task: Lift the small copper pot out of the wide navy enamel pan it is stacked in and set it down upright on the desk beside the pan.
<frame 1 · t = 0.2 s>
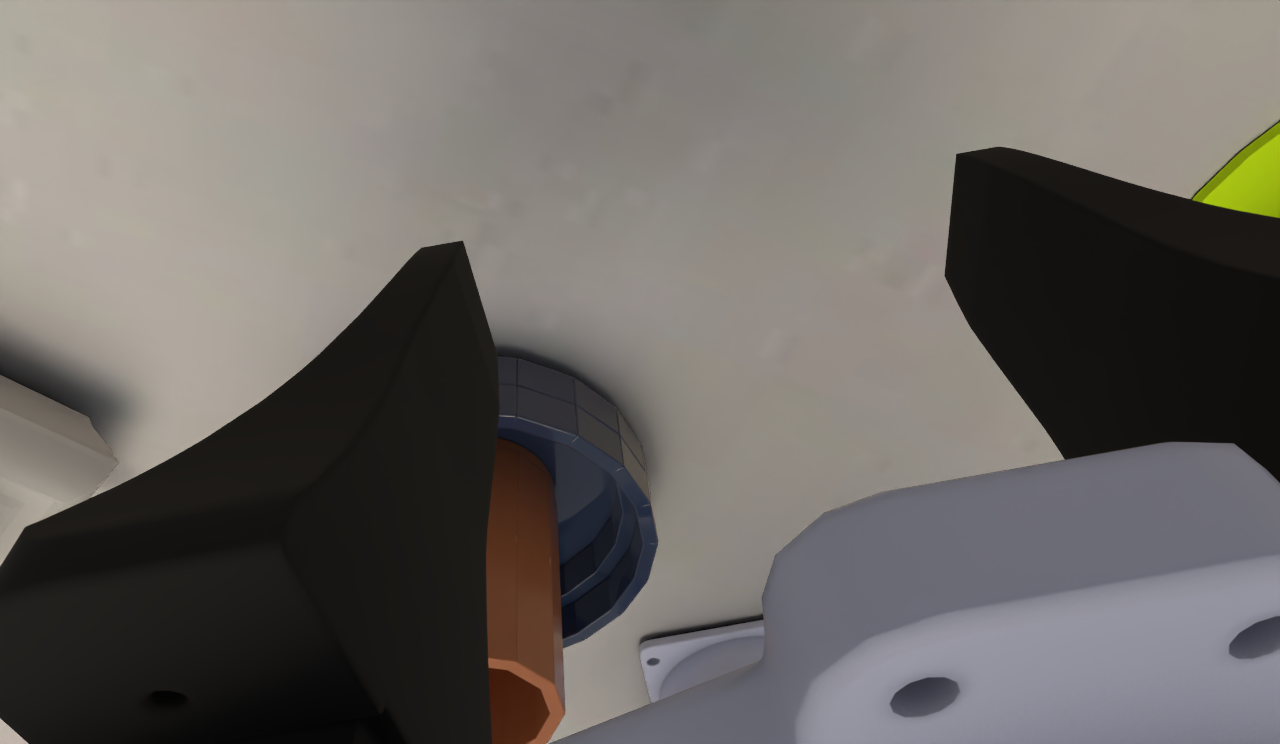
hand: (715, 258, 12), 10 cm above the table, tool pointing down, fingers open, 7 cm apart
copper pot: (475, 493, 28), resting on pan
pan: (476, 482, 28), on the table
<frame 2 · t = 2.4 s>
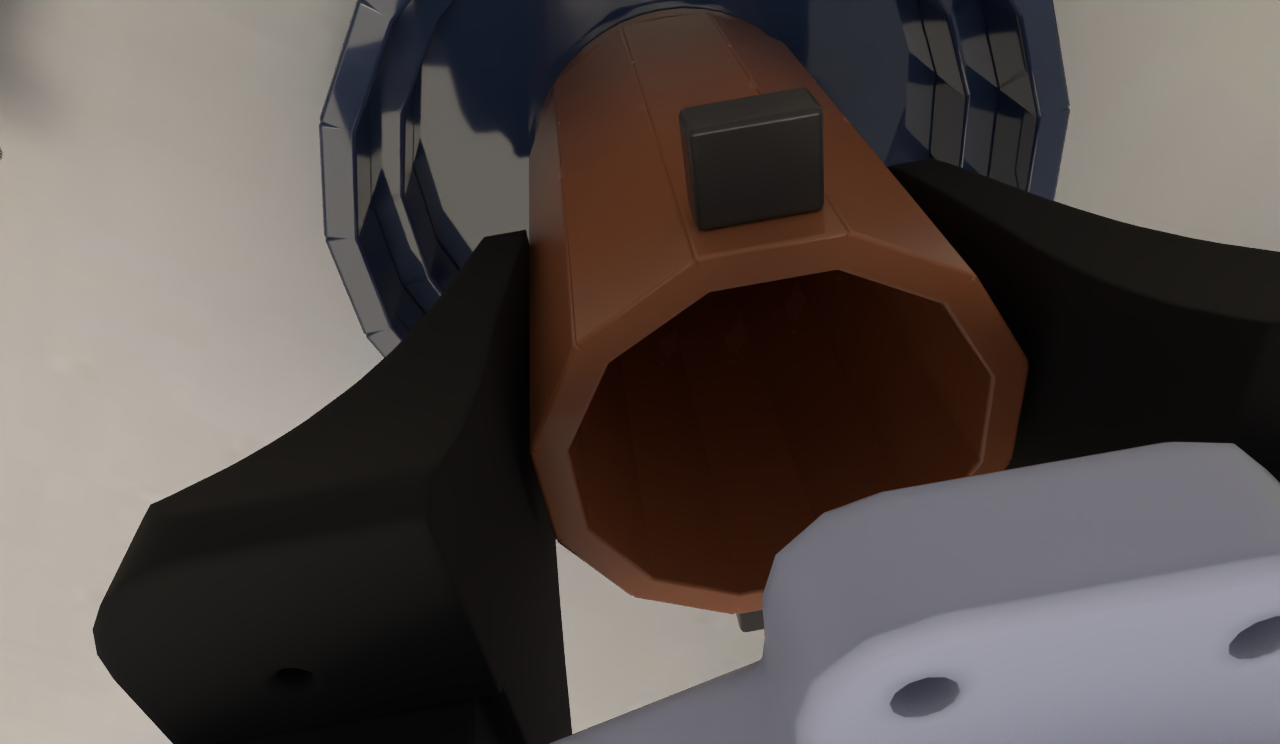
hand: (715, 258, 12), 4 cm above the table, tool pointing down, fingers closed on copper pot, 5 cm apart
copper pot: (677, 158, 15), point 1 cm above the table, touching gripper, pan
pan: (674, 147, 16), on the table
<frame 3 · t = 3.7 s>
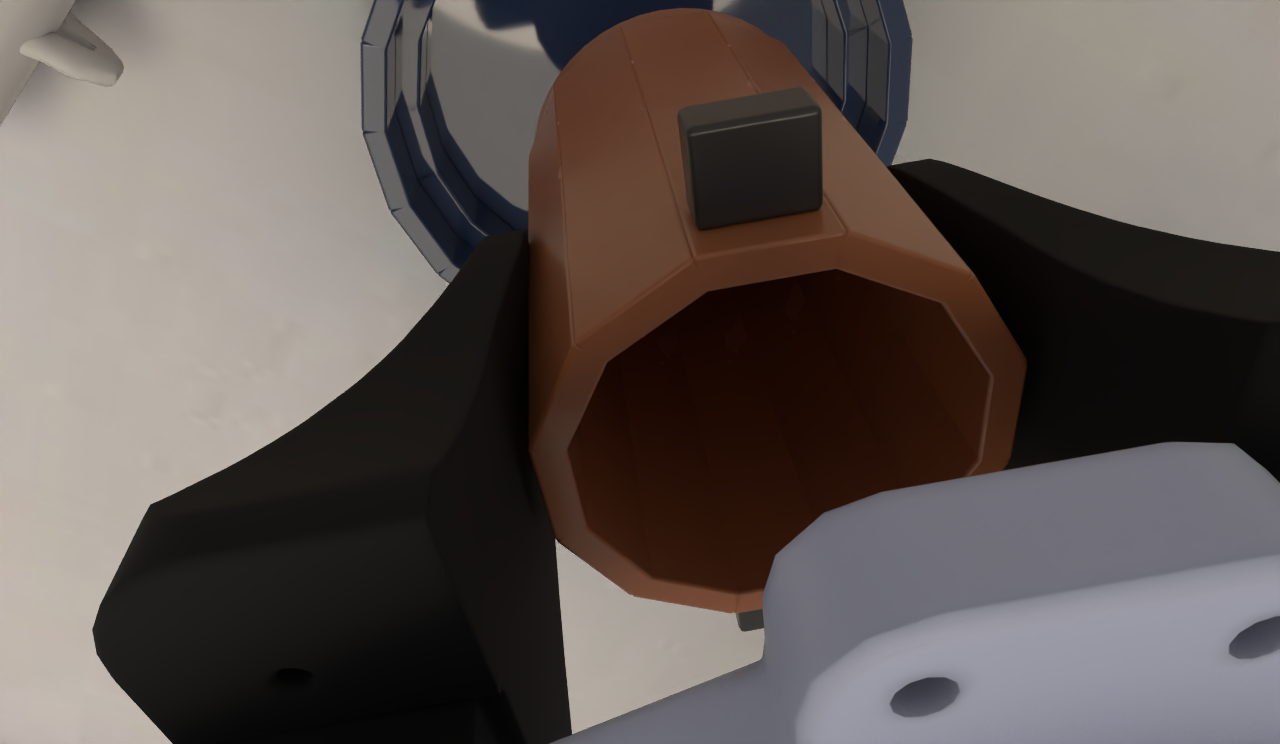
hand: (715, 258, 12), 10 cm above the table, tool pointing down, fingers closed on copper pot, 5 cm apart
copper pot: (676, 158, 15), point 6 cm above the table, touching gripper
pan: (628, 77, 20), on the table
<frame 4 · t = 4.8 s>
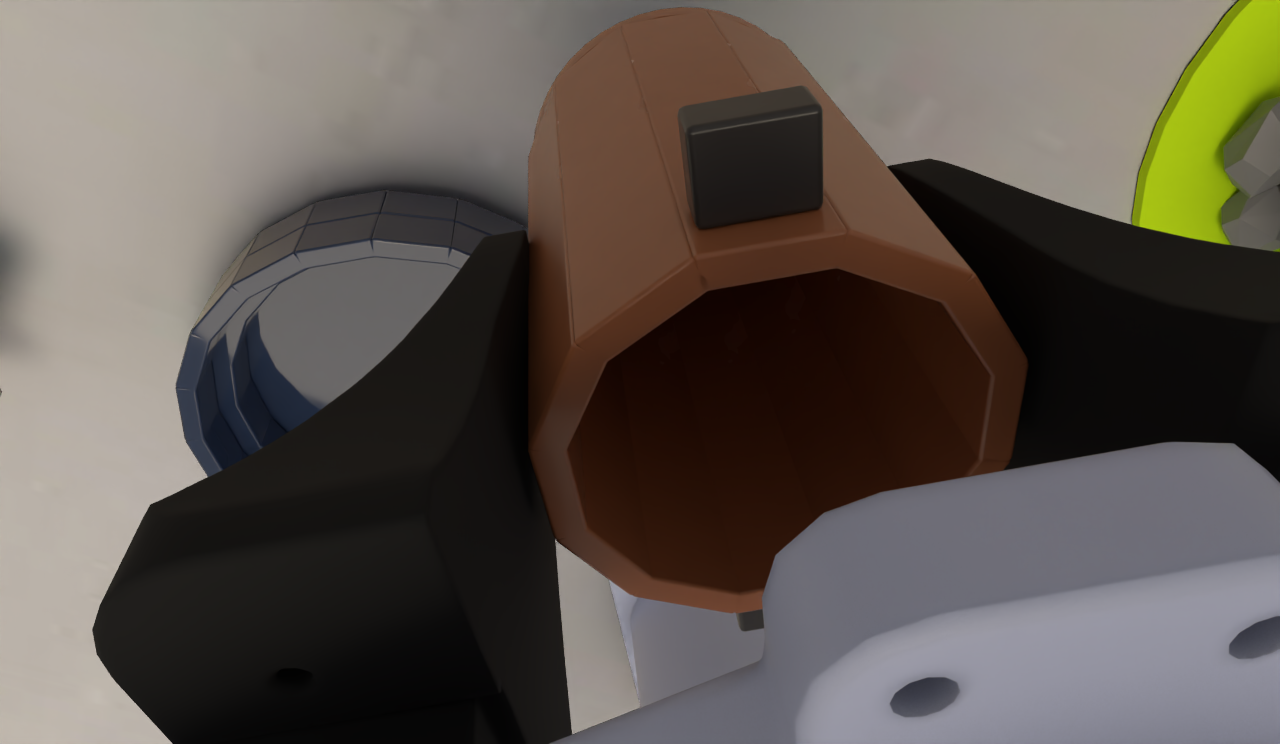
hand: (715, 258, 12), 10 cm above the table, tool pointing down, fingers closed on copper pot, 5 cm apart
copper pot: (676, 157, 15), point 7 cm above the table, touching gripper
pan: (419, 359, 25), on the table
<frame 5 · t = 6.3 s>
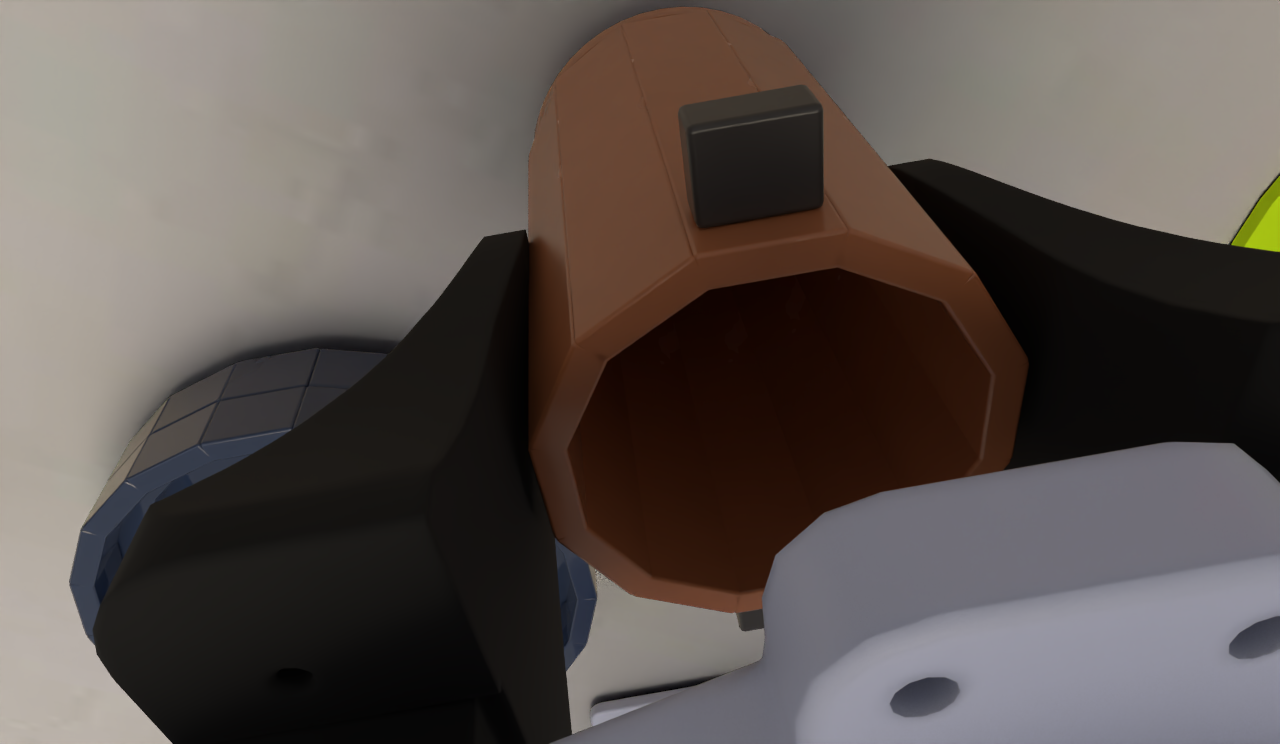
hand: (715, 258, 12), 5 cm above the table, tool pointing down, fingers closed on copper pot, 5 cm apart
copper pot: (677, 157, 15), point 2 cm above the table, touching gripper
pan: (369, 515, 22), on the table
when the fingers open (4 cm above the table, at t = 7.4 s): copper pot stays where it is, on the table.
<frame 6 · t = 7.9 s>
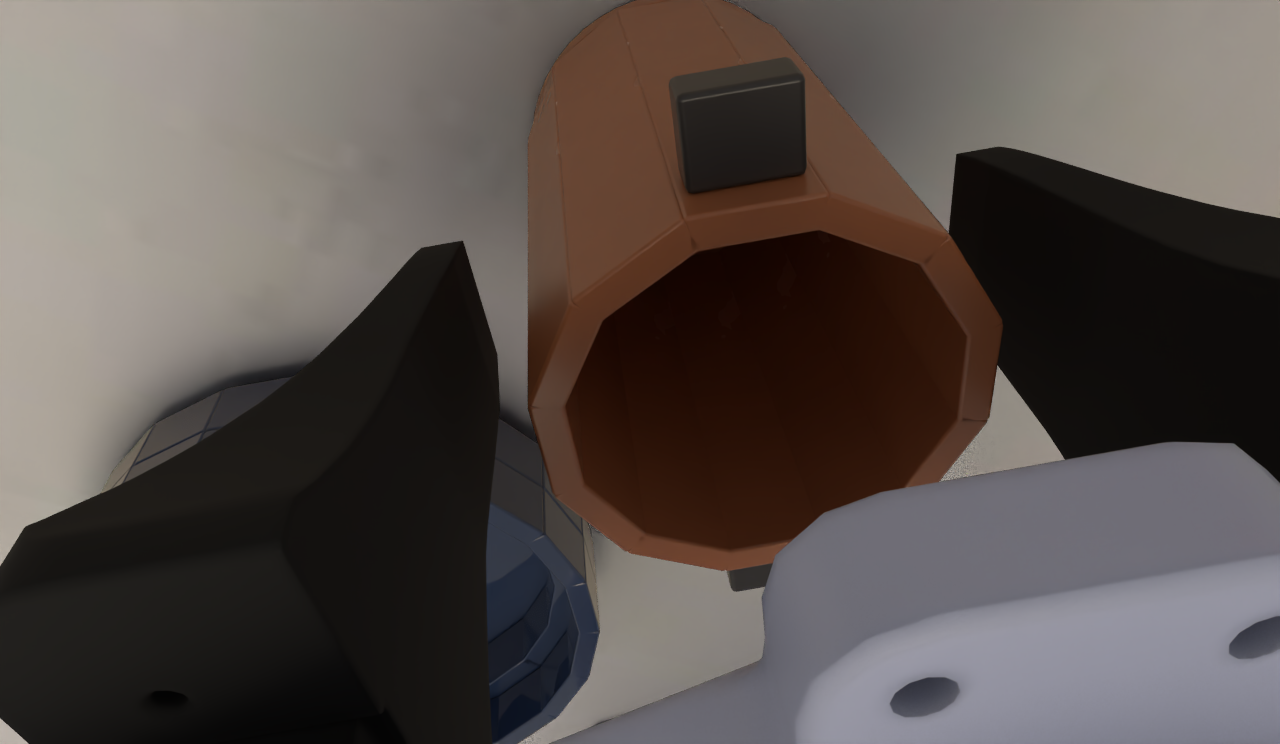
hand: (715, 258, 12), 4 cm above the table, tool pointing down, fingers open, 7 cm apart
copper pot: (672, 140, 16), on the table
pan: (363, 543, 21), on the table
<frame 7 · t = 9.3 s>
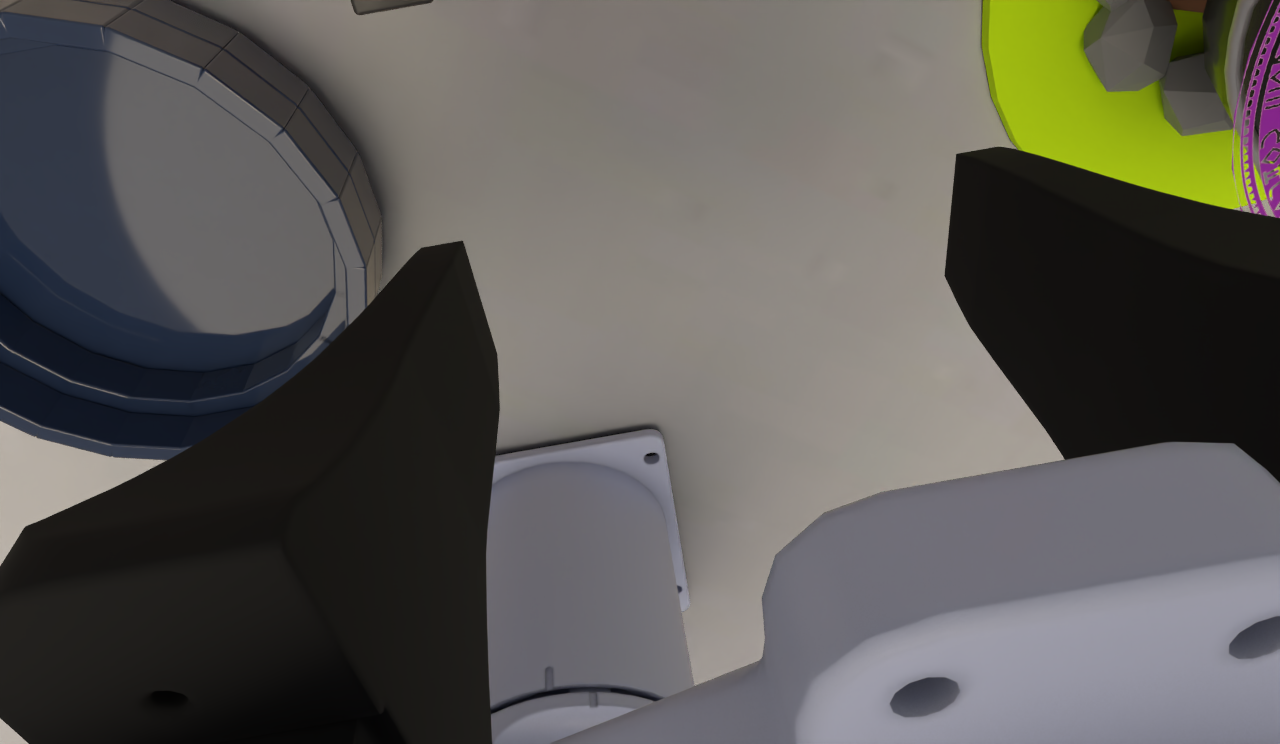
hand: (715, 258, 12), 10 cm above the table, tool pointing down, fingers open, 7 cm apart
pan: (157, 214, 22), on the table
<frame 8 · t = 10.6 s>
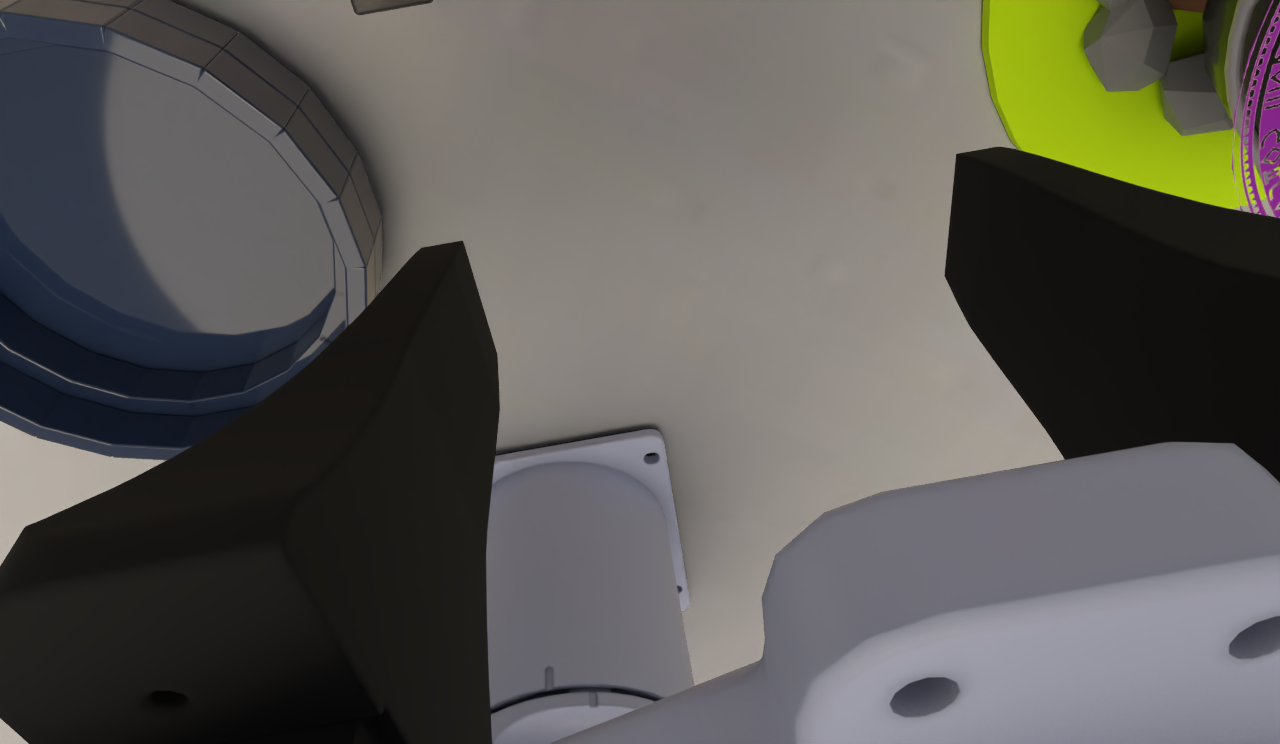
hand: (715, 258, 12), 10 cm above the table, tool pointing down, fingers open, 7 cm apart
pan: (157, 214, 22), on the table
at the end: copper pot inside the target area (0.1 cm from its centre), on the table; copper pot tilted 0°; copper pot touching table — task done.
